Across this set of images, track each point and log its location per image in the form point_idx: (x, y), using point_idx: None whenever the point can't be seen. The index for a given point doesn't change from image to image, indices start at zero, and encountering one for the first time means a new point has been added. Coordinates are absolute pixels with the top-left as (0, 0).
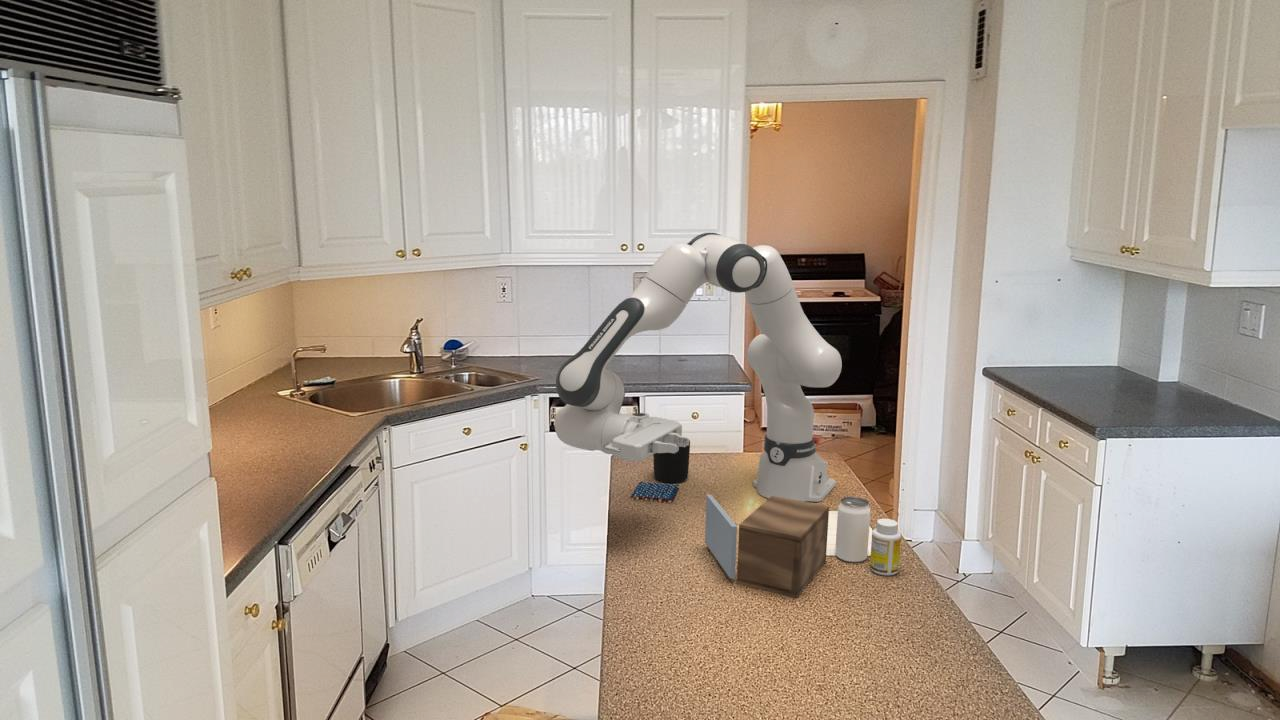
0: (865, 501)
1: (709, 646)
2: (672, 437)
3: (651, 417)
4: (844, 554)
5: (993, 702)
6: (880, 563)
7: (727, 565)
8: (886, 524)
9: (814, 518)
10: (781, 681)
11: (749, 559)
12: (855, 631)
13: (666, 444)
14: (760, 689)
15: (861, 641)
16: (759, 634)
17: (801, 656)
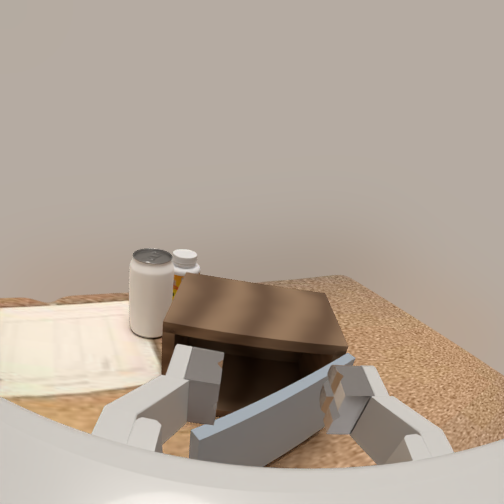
0: (143, 251)
1: (450, 395)
2: (160, 445)
3: None
4: None
5: (350, 280)
6: None
7: (319, 423)
8: (193, 254)
9: (247, 283)
10: (434, 348)
11: None
12: None
13: (397, 403)
14: (452, 354)
15: (341, 321)
16: (399, 374)
17: (398, 346)
